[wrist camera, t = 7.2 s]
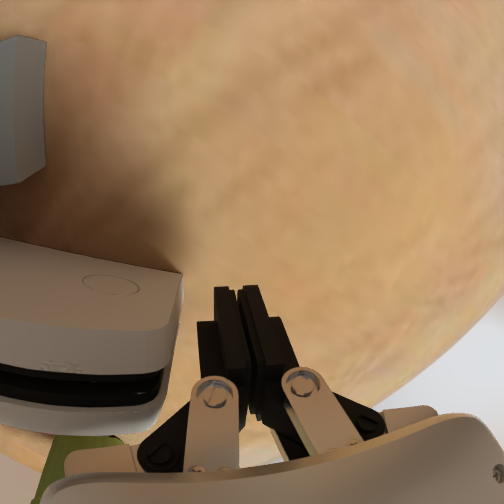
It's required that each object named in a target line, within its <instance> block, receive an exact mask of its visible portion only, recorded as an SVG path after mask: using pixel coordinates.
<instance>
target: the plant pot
mask: <svg viewBox="0 0 504 504" xmlns="http://www.w3.org/2000/svg"><path fill="white" fill-rule="evenodd" d="M117 445H124V443H123V442H122V441H121V440H119V439H118V438H112V437H109V436H107V435H106V436H74V435H55V438H54V440H53V443H52V446H51V449H50V451H49V454H48V457H47V460H46V463H45V466H44V469H43V472H42V475H41V479H40V482H39V485H38V488H37V492H36V495H35V498H34V499H33V500H32V501H31V504H40V501H41V498H42V495H43V493H44V491H45V490H46V488H47V487H48V486H49V485H50V484H52V483H53V482H55V481H57V480H60V479H62V478H65V471H64V461H65V459H66V457H67V455H69V454H70V453H71V452H73V451H77V450H84V449H94V448H102V447H110V446H117Z"/></svg>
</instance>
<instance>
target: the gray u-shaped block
mask: <svg viewBox="0 0 504 504" xmlns="http://www.w3.org/2000/svg"><path fill="white" fill-rule="evenodd" d="M46 43H47V42H44V41H40V40H36V39H32V38H28V37H24V36H19V35H16V36H14V37H11V38H8V39H6V40H3V41H0V186H3V185H9V184H16V183H20V182H21V181H23V180H24V179H26V178H28V177H29V176H31V175H32V174H34V173H35V172H37V171H39V170H40V169H42V168H43V167H45V166H46V155H45V141H44V118H43V89H44V67H45V53H46Z"/></svg>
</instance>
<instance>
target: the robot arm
mask: <svg viewBox="0 0 504 504" xmlns="http://www.w3.org/2000/svg"><path fill="white" fill-rule="evenodd" d="M197 334H198V348H199V361H200V372H201V380H199V381H197V382H196V384H195V385H194V386H193V388H192V391H191V398H190V401H189V402H188V403H187V404H186V405H184V406H183V407H182V408H181V409H180V410H179V411H178V412H176V413H175V414H174V415H173V416H172V417H171V418H170V419H168V420H167V421H166V422H165V423H164V424H163V425H161V426H160V427H159V428H158V429H157V430H156V431H154V432H153V433H152V434H151V435H150V436H148V437H147V438H146V439H145V440H144V441H143V442H142V443H141V444H138V445H132V446H130V445H129V444H124V445H117V446H110V447H102V448H94V449H84V450H77V451H73V452H71V453H70V454H69V455H67V457H66V459H65V461H64V471H65V478H62V479H60V480H57V481H55V482H53V483H52V484H50V485H49V486H48V487H47V488H46V490H45V491H44V493H43V495H42V498H41V501H40V504H504V452H503V450H502V448H501V447H500V445H499V443H498V442H497V440H496V438H495V437H494V436H493V434H492V433H491V431H490V430H489V429H488V427H487V426H486V425H485V424H484V423H483V422H482V421H481V420H480V419H479V418H478V417H476V416H474V415H471V414H465V413H449V414H443V415H438V413H437V411H436V410H434V409H433V408H432V407H429V406H424V405H422V406H414V407H406V408H398V409H388V410H383V411H382V412H379V413H378V412H376V411H375V410H373V409H371V408H368V407H366V406H363V405H361V404H359V403H356V402H354V401H352V400H350V399H347V398H345V397H343V396H341V395H338V394H336V393H334V392H332V391H331V390H330V388H329V387H328V385H327V383H326V382H325V380H324V379H323V377H322V376H321V375H320V374H319V373H318V372H316V371H315V370H313V369H310V368H307V367H300V366H299V364H298V361H297V359H296V356H295V354H294V351H293V348H292V346H291V343H290V341H289V338H288V336H287V333H286V330H285V328H284V325H283V323H282V320H281V318H280V317H279V316H278V317H269V316H268V313H267V310H266V307H265V304H264V302H263V299H262V296H261V293H260V290H259V287H258V285H246V286H243V289H240V290H238V293H237V300H236V295H235V291H234V290H229V287H228V286H225V287H214V321H200V322H197ZM248 406H249V410H250V414H256V418H257V421H261V420H262V423H263V424H264V425H266V426H268V427H269V428H270V431H271V434H272V436H273V438H274V441H275V443H276V445H277V447H278V449H279V451H280V453H281V455H282V457H283V459H284V462H280V463H274V464H268V465H262V466H255V467H248V468H239V432H240V431H241V430H242V429H243V428H244V426H245V422H246V415H247V409H248Z"/></svg>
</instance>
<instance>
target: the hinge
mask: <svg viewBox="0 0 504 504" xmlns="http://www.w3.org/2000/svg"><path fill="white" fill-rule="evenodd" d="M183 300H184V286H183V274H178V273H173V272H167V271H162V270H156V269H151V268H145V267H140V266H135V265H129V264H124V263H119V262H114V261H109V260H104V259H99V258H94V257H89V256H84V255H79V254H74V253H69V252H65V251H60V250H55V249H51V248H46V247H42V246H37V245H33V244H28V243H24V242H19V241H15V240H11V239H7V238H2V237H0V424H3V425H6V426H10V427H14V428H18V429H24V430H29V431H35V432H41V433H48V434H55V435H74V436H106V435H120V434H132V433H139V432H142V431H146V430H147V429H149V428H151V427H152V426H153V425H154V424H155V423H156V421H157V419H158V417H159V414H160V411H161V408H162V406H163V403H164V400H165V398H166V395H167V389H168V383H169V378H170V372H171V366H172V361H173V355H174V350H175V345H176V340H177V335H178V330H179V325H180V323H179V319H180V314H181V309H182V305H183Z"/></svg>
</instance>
